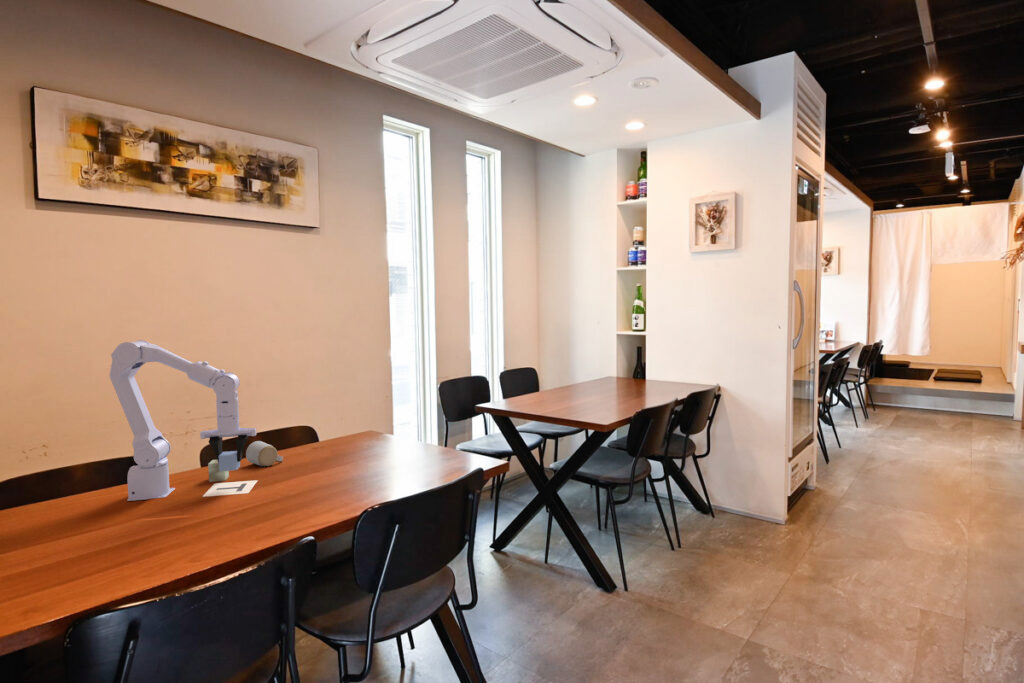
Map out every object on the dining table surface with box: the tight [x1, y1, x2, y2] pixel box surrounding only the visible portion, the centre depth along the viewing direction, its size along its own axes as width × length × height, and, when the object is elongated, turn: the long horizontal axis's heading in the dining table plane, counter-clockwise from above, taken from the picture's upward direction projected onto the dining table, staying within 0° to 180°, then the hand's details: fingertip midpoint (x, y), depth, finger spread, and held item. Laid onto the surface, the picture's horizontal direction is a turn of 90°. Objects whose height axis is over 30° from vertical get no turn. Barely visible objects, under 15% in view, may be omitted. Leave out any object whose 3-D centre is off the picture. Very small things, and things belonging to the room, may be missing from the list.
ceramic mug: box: [245, 440, 284, 468], centre depth 189 cm, size 11×8×8 cm
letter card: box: [202, 479, 259, 498], centre depth 163 cm, size 12×12×1 cm
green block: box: [207, 459, 230, 483], centre depth 171 cm, size 4×4×6 cm
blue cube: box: [219, 450, 241, 472], centre depth 162 cm, size 4×4×4 cm
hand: (230, 461), depth 162 cm, fingers closed on blue cube, 4 cm apart
